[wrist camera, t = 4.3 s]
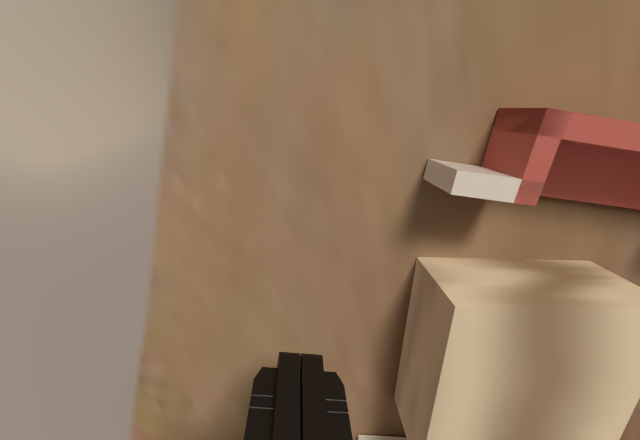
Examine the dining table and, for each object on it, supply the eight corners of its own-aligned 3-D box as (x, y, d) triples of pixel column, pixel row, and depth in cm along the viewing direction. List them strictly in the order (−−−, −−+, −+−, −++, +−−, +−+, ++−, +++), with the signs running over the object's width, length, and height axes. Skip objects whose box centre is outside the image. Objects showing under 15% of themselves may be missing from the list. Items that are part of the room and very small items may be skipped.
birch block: (584, 258, 15) (682, 309, 11) (538, 392, 17) (603, 471, 14) (414, 254, 14) (455, 306, 10) (392, 393, 17) (418, 475, 13)
